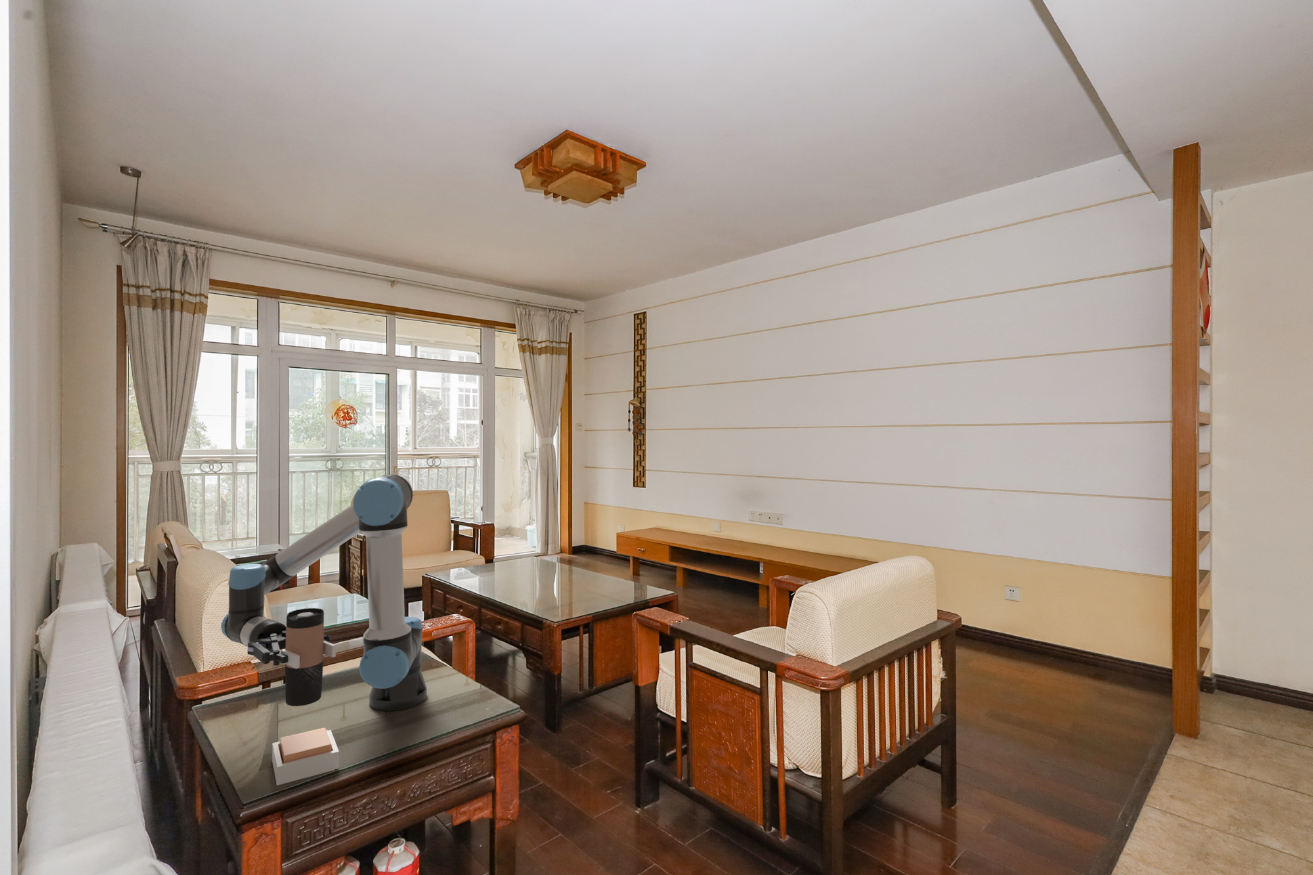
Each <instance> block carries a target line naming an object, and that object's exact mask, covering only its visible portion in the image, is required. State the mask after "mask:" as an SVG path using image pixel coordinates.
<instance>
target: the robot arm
mask: <svg viewBox="0 0 1313 875" xmlns="http://www.w3.org/2000/svg"><path fill="white" fill-rule="evenodd" d="M413 496H414V491H413V487H412V485H411V483H410V482H409V481H408V480H407V479H406V478H405V477H403V476H401V475H398V474H392V473H390V474H389V473H388V474H384V475H380V476H378V477H373V478H370V479H368V480H367V481H365V482H364V483H362V485H361V486H360V487H359V488H357V490H356V492H355V494H354V497H353V500H352V504H351V505H349V506H348V507H346V508H344V510H342V511H341V512H338V514H336V515H334V516H333V517H331V518H330V519H328V520H327V521H326V522H324V523H323V524H320V525H319V526H318V527H316V528H315V529H313V530H311V531H310V532H309V533H307V534H305V535H304V536H302V537H301V538H300V539H298V540H297V541H294V542H293V543H292V544H290V545H289V546H287V547H286V548H284V549H282V550H281V551H279V552H278V553H277V554H275V555H273V556H272V557H270V558H269V559H267V560H265V561H264V562H262V563H244V564H239V565H235V566H233V567H231V569H230V571H229V578H228V613H227V614H226V615H225V616H224V617H223V620H222V621H221V623H220V624H221V625H220V629H221V633H222V634H223V635H224V636H225V637H226V638H228V639H229V640H230V641H231V642H234V643H239V644H241V645H243V646H244V647H247V655H249V656H253V657H254V658H256V659H257V660H258V661H259V662H261V663H262V664H263V665H268V664H270V663H271V662H272V661H273V662H272V663H273V664H272V665H273V666H279V665H280V664H284V665H285V664H287V665H289V666H291V667H293V668H295V669H297V668H299V667H300V655H298V654H295V653H293V652H290V651H287V650H286V624H284V623H281V622H279V621H276V620H274V619H272V618H268V617H265V595H267V594H269V593H270V592H272V591H274V590H275V589H276V588H279V587H280V586H282V585H284V584H286V582H287V581H290V580H291V579H292V578H293V577H294V576H297V575H298V574H299V573H301V572H302V571H303V570H305V569H307V568H308V567H309V566H311V565H313V564H314V563H315V562H317V561H319V560H320V559H322V558H323V557H325V556H326V555H329V553H331V552H332V551H334V550H335V549H337V548H338V547H340V546H342V545H343V544H344V543H346V542H347V541H350V539H352V538H354V537H355V536H356V535H358V534H361V533H362V534H363V535H364V537H365V543H366V544H365V545H366V546H365V548H366V572H367V573H366V574H367V575H366V576H367V577H366V578H367V600H368V602H367V603H368V625H369V627H368V628H367V629H366V631H365V632H364V633H363V635H362V636H363V638H362V639H363V640H362V641H363V655H362V657H361V659H360V661H359V667H358V668H359V669H358V670H359V675H360V677H361V679H362V681H364V683H366V684H368V686H370V687H371V690H370V692H369V698H368V699H369V701H368V704H369V706H370V707H371V708H373V709H376V710H380V711H388V712H389V711H400V710H406V709H409V708H413V707H416V706H417V705H419V704H421V703H422V702H424V701H425V700H426V698H427V695H428V689H427V688H428V687H427V685H426V681H425V679H424V674H423V672H422V648H423V647H422V642H423V641H422V640H423V623H422V622H423V621H422V619H420V618H419V617H414V616H405V591H404V590H405V589H404V563H403V562H404V560H403V540H402V539H403V537H402V536H403V532H404V531H405V530H406V529H407V528H408V508H409V507H410V506H411V505H412V502H413ZM336 648H337V645H336V644H334V643H332V642H331V635H329V634H325V633H324V650H323V655H325V656H327V657H330V658H336V657H337V656H336V652H337V649H336Z"/></svg>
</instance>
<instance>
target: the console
mask: <svg viewBox="0 0 1313 875" xmlns="http://www.w3.org/2000/svg"><path fill="white" fill-rule="evenodd" d="M326 731H327V734H328V736H329V739H330V742H331V752H327V753H323V754H319V755H315V756H311V757H307V758H303V759H299V760H295V761H291V762H287V763H283V762H282V758H281V753H280V741H276V742H272V745H271V746H272V748H271V749H272V750H271V762H272V768H273V772H274V778H275V783H276V784H275V785H276V786H281V785H284V784H288V783H292V782H295V781H298V780H299V781H300V780H303V779H307V778H310V777H313V776H317V775H321V774H325V773H328V772H333V771H336V770H335V769H337V770H339V769H340V768H339V766H340V764H339V763H340V759H339V758H340V751H339V748H338V745H337V743H336V741H335V737H334V736H333V733H332V730H331V729H326Z"/></svg>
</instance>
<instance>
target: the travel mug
mask: <svg viewBox="0 0 1313 875" xmlns="http://www.w3.org/2000/svg"><path fill="white" fill-rule="evenodd" d="M324 611H325V610H323V609H322V608H318V607H316V608H315V607H310V608H309V607H306V608H301V609H300V608H299V609H295V610H292V611H289V612H288V613H287V614H286V622H285V626H286V650H287V651H290V652H293V653H295V654H298V655H300V667H299V668H297V669H295V668H293V667H291V666H289V665H287V664H284V682H285V683H284V685H285V686H284V687H285V688H284V689H285V691H284V692H285V704H286V705H287V706H289V707H303V706H308V705H311V704H314V703H316V702H318V701H319V700H320V699H321V698H322V693H323V692H322V690H323V674H324V673H323V672H324V654H323V650H324V634H325V631H324V630H325V629H324V628H325V627H324V626H325V612H324Z"/></svg>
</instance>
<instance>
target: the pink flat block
mask: <svg viewBox="0 0 1313 875" xmlns="http://www.w3.org/2000/svg"><path fill="white" fill-rule="evenodd" d="M279 742H280V753H281V758H282V762H283V763H287V762H291V761H295V760H299V759H303V758H307V757H311V756H315V755H319V754H323V753H327V752H331V742H330V739H329V736H328V734H327V729H326V727H321V728H317V729H312V730H309V731H303V732H300V733H294V734H290V735H286V736H281V737H280V738H279Z"/></svg>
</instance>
